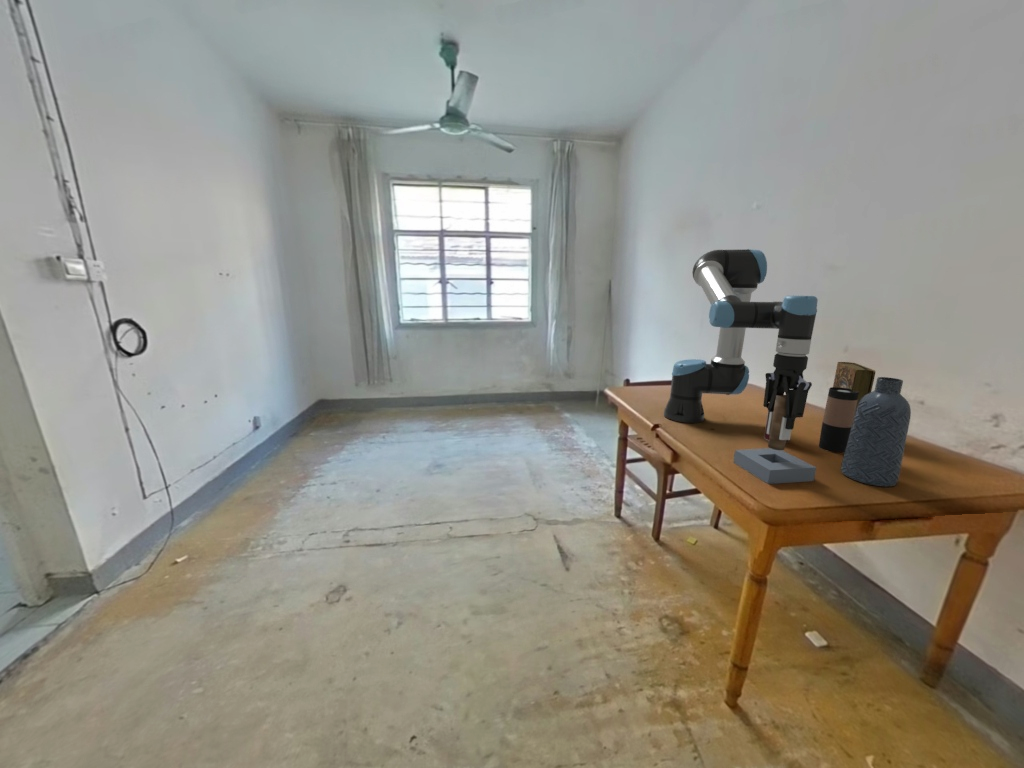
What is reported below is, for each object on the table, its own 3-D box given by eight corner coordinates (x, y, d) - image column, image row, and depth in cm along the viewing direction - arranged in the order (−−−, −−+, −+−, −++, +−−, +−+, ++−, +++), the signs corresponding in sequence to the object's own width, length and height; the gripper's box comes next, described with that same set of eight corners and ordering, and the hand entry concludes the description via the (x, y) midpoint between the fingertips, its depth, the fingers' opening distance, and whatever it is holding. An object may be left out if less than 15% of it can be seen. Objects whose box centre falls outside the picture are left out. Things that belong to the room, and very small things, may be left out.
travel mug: (816, 448, 135) (827, 389, 131) (819, 442, 141) (830, 385, 136) (845, 455, 130) (858, 394, 126) (847, 448, 136) (860, 389, 131)
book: (823, 425, 159) (836, 361, 153) (840, 426, 157) (854, 362, 151) (841, 439, 144) (856, 369, 138) (860, 441, 142) (876, 370, 136)
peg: (764, 445, 118) (772, 394, 115) (777, 444, 119) (785, 394, 115) (775, 450, 114) (783, 398, 111) (788, 449, 115) (797, 398, 111)
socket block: (733, 462, 124) (735, 449, 123) (775, 460, 126) (777, 447, 125) (767, 483, 110) (770, 470, 110) (813, 480, 112) (816, 467, 112)
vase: (908, 484, 111) (934, 382, 104) (876, 490, 108) (901, 385, 101) (859, 466, 122) (880, 373, 116) (829, 470, 119) (849, 375, 112)
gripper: (756, 349, 118) (744, 427, 123) (805, 359, 102) (790, 448, 107) (779, 349, 119) (767, 426, 124) (832, 359, 103) (815, 447, 108)
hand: (777, 436), depth 116 cm, fingers closed on peg, 4 cm apart
